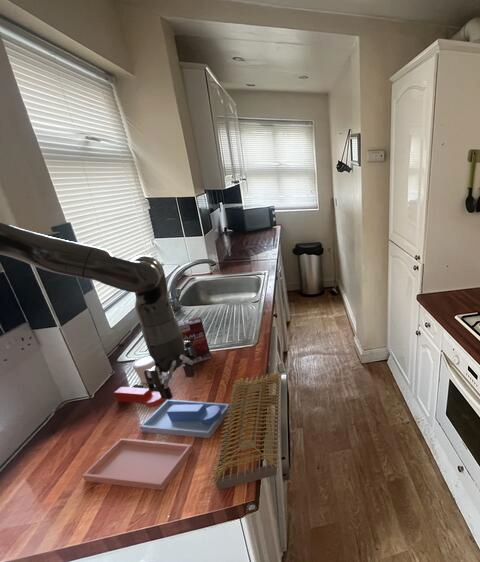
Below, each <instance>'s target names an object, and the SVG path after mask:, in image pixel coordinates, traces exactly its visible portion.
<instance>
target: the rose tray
mask: <svg viewBox="0 0 480 562" xmlns="http://www.w3.org/2000/svg"><path fill="white" fill-rule="evenodd" d="M193 452H194V448H193V445H192V444H188V443H187V444H186V443H178V442H166V441H156V440H145V439H135V438H123V437H120V438H119V439H118V440H117V441H116V442H115V443H114V444H113V445H112V446H111V447H110V448H109V449H108V450H107V451H106V452H105V453H103V455H102V456H100V457H99V458H98V459H97V460H96V461H95V462H94V463H93V464H92V465H91V466H90V467H89V468H88V469H87V470H86V471H85V472H84V473H83V474H82V475H81V477H82V478H83V480H84V482H89V483H97V484H106V485H114V486H123V487H130V488H138V489H139V488H140V489H149V490H156V491H165V489H166V488H167V487H168V485H169V483H170V482H171V481H172V480H173V479H174V477H175V476H176V474H177V473H178V472H179V470H180V469H181V468H182V466H183V465H184V464H185V462H187V460H188V459H189V457H190V456H191V454H192V453H193Z"/></svg>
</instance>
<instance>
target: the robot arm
mask: <svg viewBox="0 0 480 562" xmlns="http://www.w3.org/2000/svg"><path fill="white" fill-rule="evenodd" d="M0 255H1V256H5V257H9V258H13V259H14V260H18V261H20V262H24V263H26V264H28V265H31V266H34V267H36V268H38V269H41V270H44V271H46V272H50V273H55V274H58V275H64V276H69V277H74V278H78V279H79V278H80V279H84V280H90V281H95V282H98V283H101V284H104V285H106V286H109V287H112V288H115V289H117V290H118V289H119V290H121V291H124V292H129V293H134V294H135V303H134V307H135V309H134V310H135V312H136V316H137V318H138V321H139V324H140V327H141V333H142V336H143V339H144V342H145V345H146V348H147V350H148V351H147V352H148V353H149V354H148V355H150V356H151V357H152V358H153V359H154V361H155V366H154V367H153V368H151V369H150V370H145V371H144V375H145V378H146V381H147V383H146V385H147V388H148V389H149V391H151V392H154V391H155V392H160V395H161V398H162V399H165V400H170V399H171V400H172V398H173V393H172V390H171V388H170V386H169V384H170V380H171V379H172V378H173V375H174V373H175V372H176V370H177V369H178V368H180V367H181V366H182V367H183V371H184V374H185V376H186V378H194V377H195V376H196V374H195V373H196V371H195V369H194V368H195V367H194V364H193V360H194V359H196V358H197V354H196V351H195V349H194V346H193V343H192V341H183V338H182V334H181V331H180V328H179V324H178V322H179V321H178V320H177V318H176V315H175V312H174V309H173V306H172V303H171V300H170V297H169V292H168V285H167V279H166V274H165V270H164V268H163V265H162V263H161V262H160V261H159V260H158V259H156V258H155V257H153V256H151V255H145V254H144V255H138V256H135V257H133V258H132V259H131V260H128V259H124V258H122V257H117V256H113V254H112V253H111V251H109V250H107V249H105V248H101V247H97V246H93V245H89V244H84V243H79V242H75V241H69V240H65V239H61V238H57V237H53V236H48V235H45V234H41V233H37V232H33V231H30V230H26V229H23V228H19V227H16V226H13V225H10V224H7V223H4V222H0ZM184 353H185V355H186V357H185V356H184ZM190 353H191V355H190ZM163 373H165V374H166V375H165V374H163Z"/></svg>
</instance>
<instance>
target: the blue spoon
mask: <svg viewBox="0 0 480 562" xmlns="http://www.w3.org/2000/svg"><path fill="white" fill-rule="evenodd" d="M166 412H167V414H168V416H169V418H170V420H171V421H201V423H202V424H204V425H208V424H211V423H213V422H215V421H216V420H218V419H219V418H220V416H221V410H220V408H219V406H216V405H214V406H210V407H208V408H205V406H204V404H194V405H172V406H171V407H170V408H169V409H168V410H167V411H166Z"/></svg>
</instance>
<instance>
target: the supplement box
mask: <svg viewBox="0 0 480 562" xmlns="http://www.w3.org/2000/svg"><path fill="white" fill-rule="evenodd" d="M177 322H178V324H179V328H180V331H181V334H182V338H183V341H192V343H193V346H194V349H195V351H196V354H197V358H196V359H194V360H193V365H194V364H197V363H201V362H202V361H203V362H204V361H206V360H209V359H210V360H211V359H212V355H211V350H210V347H209V344H208V338H207V335H206V331H205V327H204V324H203V320H202V316H198V317H194V318H190V319H186V320H182V321H177ZM190 355H191V353H190ZM184 356H185V357H186V355H185V353H184Z"/></svg>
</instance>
